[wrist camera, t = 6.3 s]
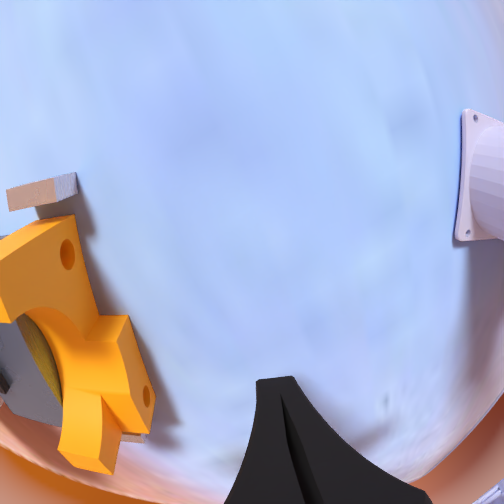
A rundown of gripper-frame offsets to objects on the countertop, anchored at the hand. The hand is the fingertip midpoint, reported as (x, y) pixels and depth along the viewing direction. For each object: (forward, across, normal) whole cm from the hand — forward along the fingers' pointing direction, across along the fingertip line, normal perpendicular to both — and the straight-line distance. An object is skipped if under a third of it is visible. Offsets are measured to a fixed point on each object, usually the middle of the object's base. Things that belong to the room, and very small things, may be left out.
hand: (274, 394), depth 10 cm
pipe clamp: (+5, +9, 0) cm, 10 cm away
